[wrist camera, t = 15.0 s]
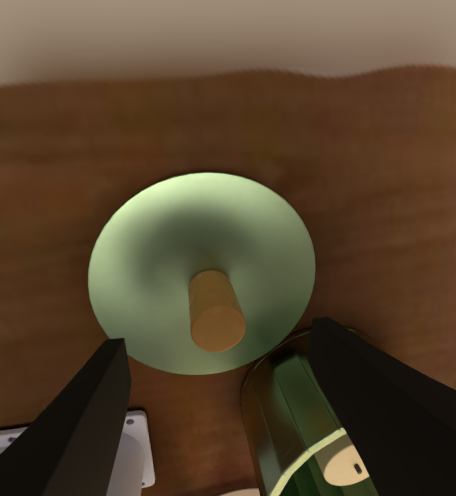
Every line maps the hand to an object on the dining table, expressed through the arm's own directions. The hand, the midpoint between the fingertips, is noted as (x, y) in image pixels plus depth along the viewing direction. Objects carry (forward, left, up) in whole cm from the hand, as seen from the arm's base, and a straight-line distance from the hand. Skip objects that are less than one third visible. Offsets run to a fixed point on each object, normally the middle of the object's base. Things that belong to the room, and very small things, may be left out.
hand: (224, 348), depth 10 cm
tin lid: (0, 0, -5) cm, 5 cm away
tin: (+8, -10, -6) cm, 14 cm away
